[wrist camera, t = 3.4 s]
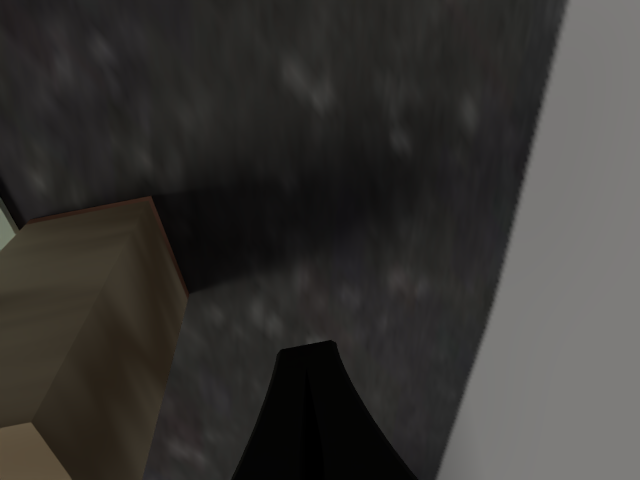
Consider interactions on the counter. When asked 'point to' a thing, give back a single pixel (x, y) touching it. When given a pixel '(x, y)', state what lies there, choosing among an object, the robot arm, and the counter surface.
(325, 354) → the robot arm
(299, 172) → the counter surface
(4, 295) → the maple block
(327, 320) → the counter surface
